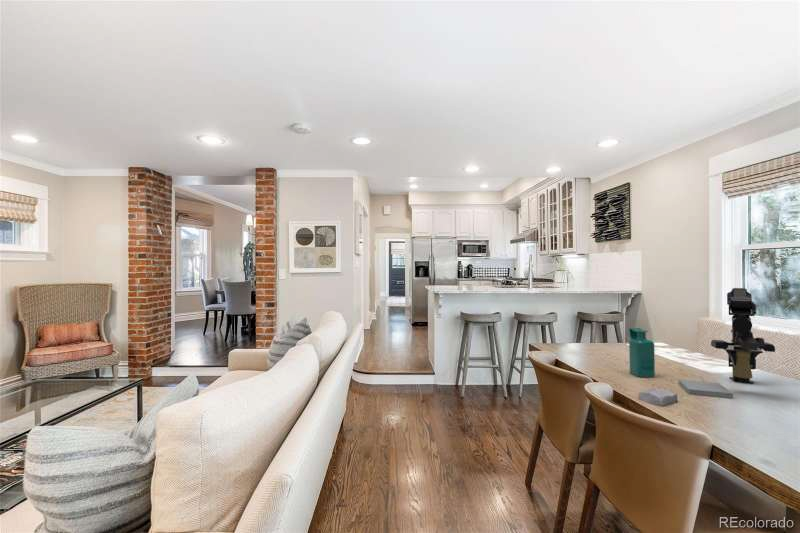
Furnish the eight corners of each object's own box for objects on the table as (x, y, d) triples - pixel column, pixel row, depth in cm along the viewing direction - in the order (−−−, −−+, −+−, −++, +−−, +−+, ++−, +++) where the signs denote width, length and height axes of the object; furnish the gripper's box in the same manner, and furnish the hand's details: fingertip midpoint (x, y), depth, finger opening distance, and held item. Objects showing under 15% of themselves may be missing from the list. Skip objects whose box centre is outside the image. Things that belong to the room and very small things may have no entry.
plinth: (678, 383, 160) (678, 379, 160) (718, 387, 155) (718, 383, 155) (689, 394, 148) (688, 389, 148) (733, 398, 142) (732, 393, 142)
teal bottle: (657, 377, 170) (656, 330, 171) (639, 377, 171) (638, 331, 171) (643, 371, 180) (642, 327, 180) (626, 371, 180) (625, 327, 181)
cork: (756, 378, 146) (756, 351, 146) (739, 378, 147) (738, 350, 147) (745, 374, 152) (745, 348, 152) (728, 373, 153) (728, 347, 153)
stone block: (636, 404, 143) (664, 407, 134) (634, 391, 144) (661, 393, 135) (653, 399, 148) (680, 402, 140) (650, 387, 149) (678, 389, 141)
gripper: (720, 330, 146) (721, 369, 146) (782, 333, 138) (783, 374, 138) (710, 326, 156) (710, 362, 156) (767, 328, 149) (768, 366, 149)
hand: (742, 366), depth 149 cm, fingers closed on cork, 4 cm apart
